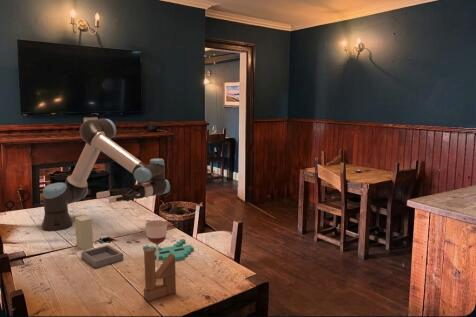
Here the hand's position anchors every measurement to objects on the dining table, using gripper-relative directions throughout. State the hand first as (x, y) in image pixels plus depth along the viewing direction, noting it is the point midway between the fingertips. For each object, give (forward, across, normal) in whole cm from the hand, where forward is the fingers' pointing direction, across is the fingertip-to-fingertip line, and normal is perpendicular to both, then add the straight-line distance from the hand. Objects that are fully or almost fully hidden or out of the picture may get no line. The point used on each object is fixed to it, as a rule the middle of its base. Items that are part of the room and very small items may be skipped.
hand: (102, 198), depth 186 cm
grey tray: (+10, -20, -22) cm, 31 cm away
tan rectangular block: (+10, 0, -22) cm, 24 cm away
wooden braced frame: (+10, -64, -23) cm, 69 cm away
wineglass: (-1, -46, -23) cm, 52 cm away
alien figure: (-15, -34, -23) cm, 44 cm away
